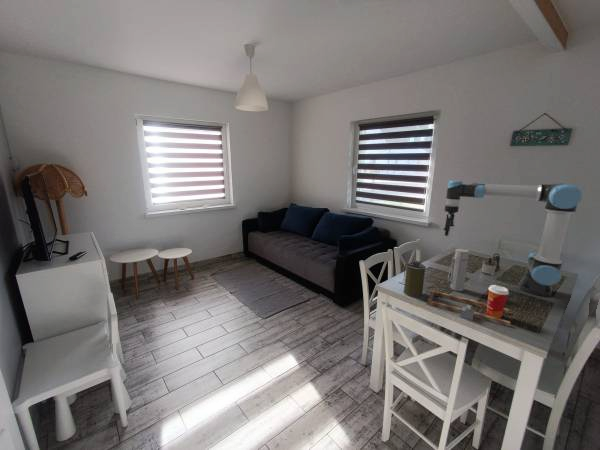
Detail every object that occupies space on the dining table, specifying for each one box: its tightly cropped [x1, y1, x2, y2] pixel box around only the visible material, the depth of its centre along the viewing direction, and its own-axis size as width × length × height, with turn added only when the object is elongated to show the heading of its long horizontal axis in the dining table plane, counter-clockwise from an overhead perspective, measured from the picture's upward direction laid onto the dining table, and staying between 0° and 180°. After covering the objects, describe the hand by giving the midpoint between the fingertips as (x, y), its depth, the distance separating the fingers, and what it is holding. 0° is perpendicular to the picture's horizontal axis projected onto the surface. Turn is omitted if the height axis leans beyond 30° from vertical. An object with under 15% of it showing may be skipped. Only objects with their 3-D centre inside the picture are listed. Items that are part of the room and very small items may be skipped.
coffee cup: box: [486, 284, 510, 319], centre depth 132 cm, size 8×8×15 cm
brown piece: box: [426, 289, 511, 328], centre depth 140 cm, size 36×15×2 cm, turn 55°
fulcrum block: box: [460, 304, 475, 321], centre depth 131 cm, size 5×4×6 cm
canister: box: [403, 259, 427, 298], centre depth 154 cm, size 11×10×20 cm
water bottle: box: [447, 248, 470, 292], centre depth 159 cm, size 9×8×25 cm
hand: (447, 238), depth 171 cm, fingers open, 13 cm apart
